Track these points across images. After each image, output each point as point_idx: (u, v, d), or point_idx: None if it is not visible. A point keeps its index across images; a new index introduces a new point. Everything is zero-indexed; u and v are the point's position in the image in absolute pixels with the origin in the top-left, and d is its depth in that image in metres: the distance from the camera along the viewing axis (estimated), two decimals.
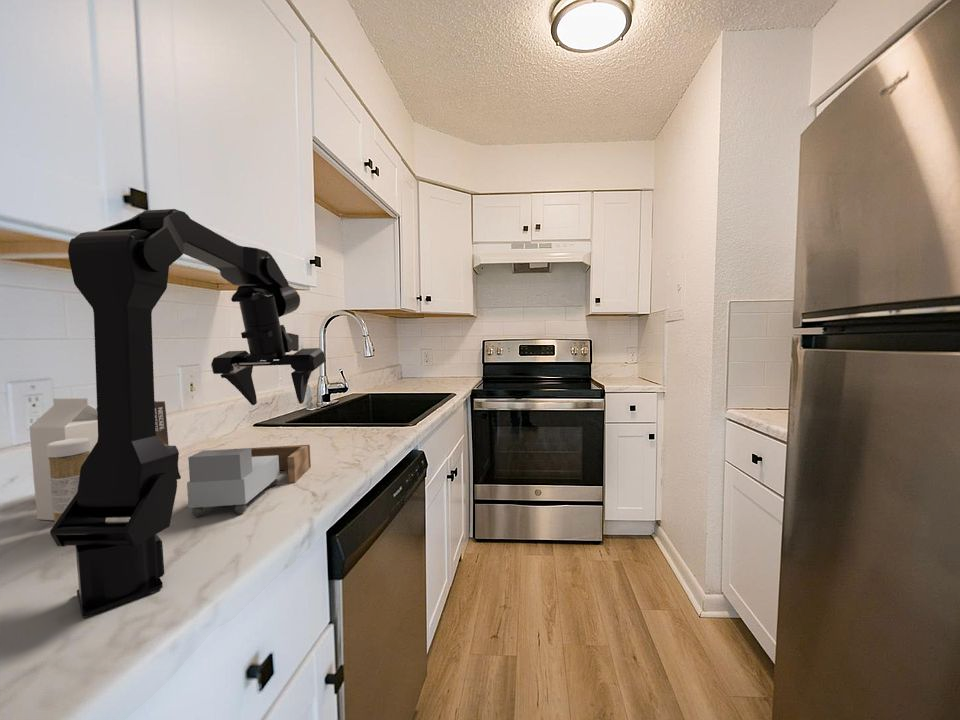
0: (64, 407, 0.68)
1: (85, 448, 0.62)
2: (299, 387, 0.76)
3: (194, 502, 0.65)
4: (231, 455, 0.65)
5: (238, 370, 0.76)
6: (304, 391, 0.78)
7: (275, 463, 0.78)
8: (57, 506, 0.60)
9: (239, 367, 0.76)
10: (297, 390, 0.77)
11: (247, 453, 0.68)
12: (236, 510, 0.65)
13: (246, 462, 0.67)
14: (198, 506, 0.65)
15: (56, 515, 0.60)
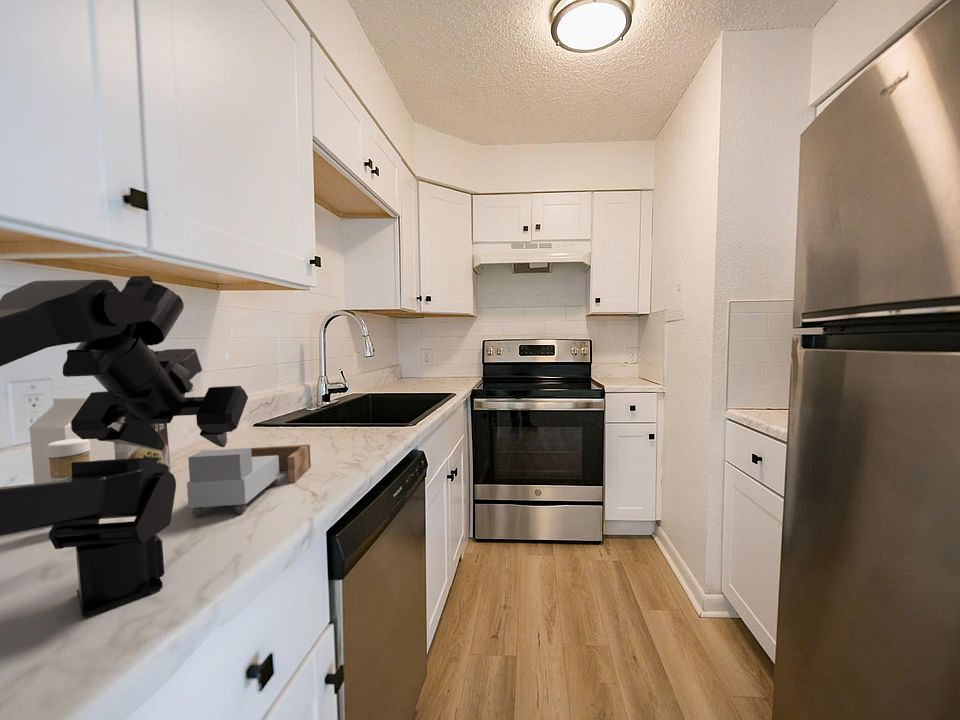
0: (64, 407, 0.68)
1: (85, 448, 0.62)
2: (216, 440, 0.56)
3: (194, 502, 0.65)
4: (231, 455, 0.65)
5: (122, 425, 0.53)
6: (224, 434, 0.59)
7: (275, 463, 0.78)
8: None
9: None
10: (215, 441, 0.57)
11: (247, 453, 0.68)
12: (236, 510, 0.65)
13: (246, 462, 0.67)
14: (198, 506, 0.65)
15: None
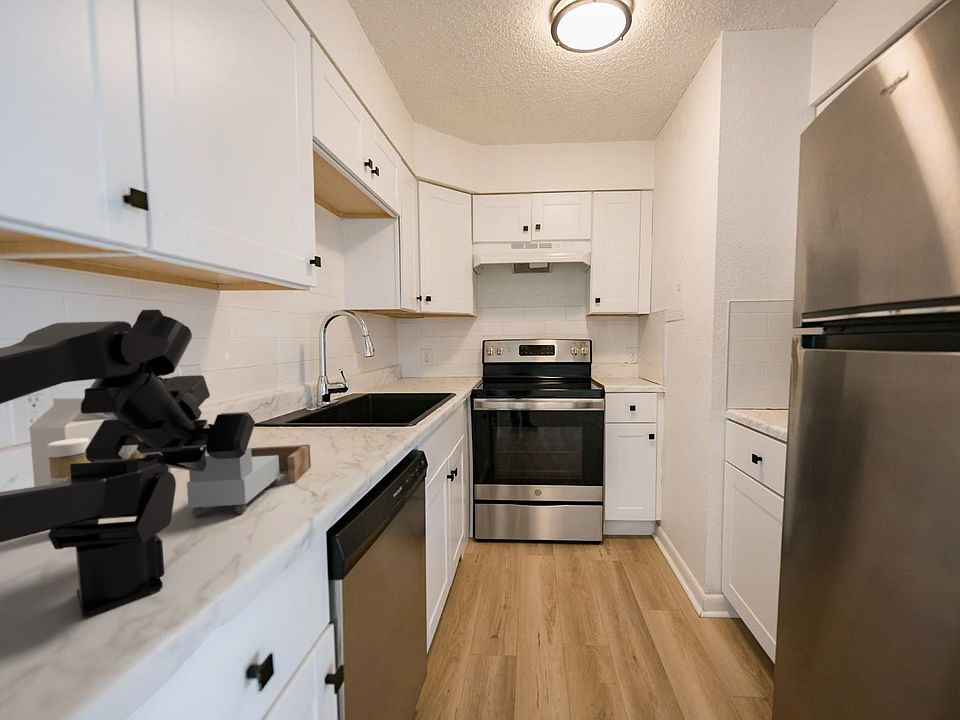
0: (64, 407, 0.68)
1: (85, 448, 0.62)
2: (194, 466, 0.58)
3: (194, 502, 0.65)
4: None
5: None
6: (203, 459, 0.60)
7: (275, 463, 0.78)
8: None
9: None
10: (193, 466, 0.58)
11: (247, 453, 0.68)
12: (236, 510, 0.65)
13: (246, 462, 0.67)
14: (198, 506, 0.65)
15: None
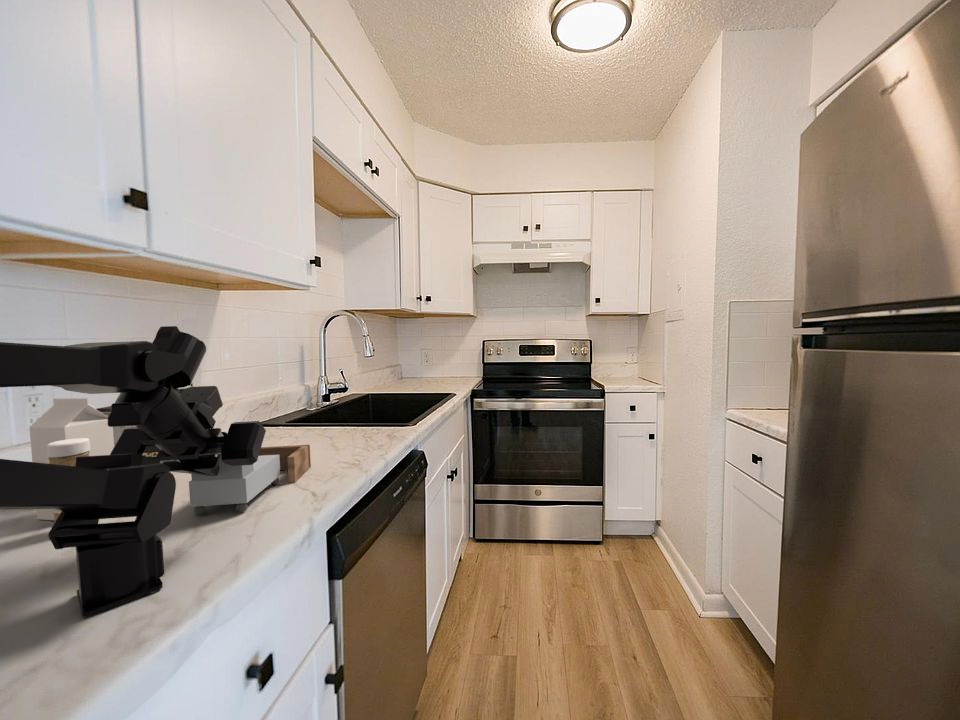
0: (64, 407, 0.68)
1: (85, 448, 0.62)
2: (209, 472, 0.61)
3: (195, 501, 0.65)
4: None
5: None
6: None
7: (276, 462, 0.79)
8: None
9: None
10: (207, 472, 0.62)
11: None
12: (237, 509, 0.66)
13: None
14: (200, 505, 0.66)
15: (56, 515, 0.60)
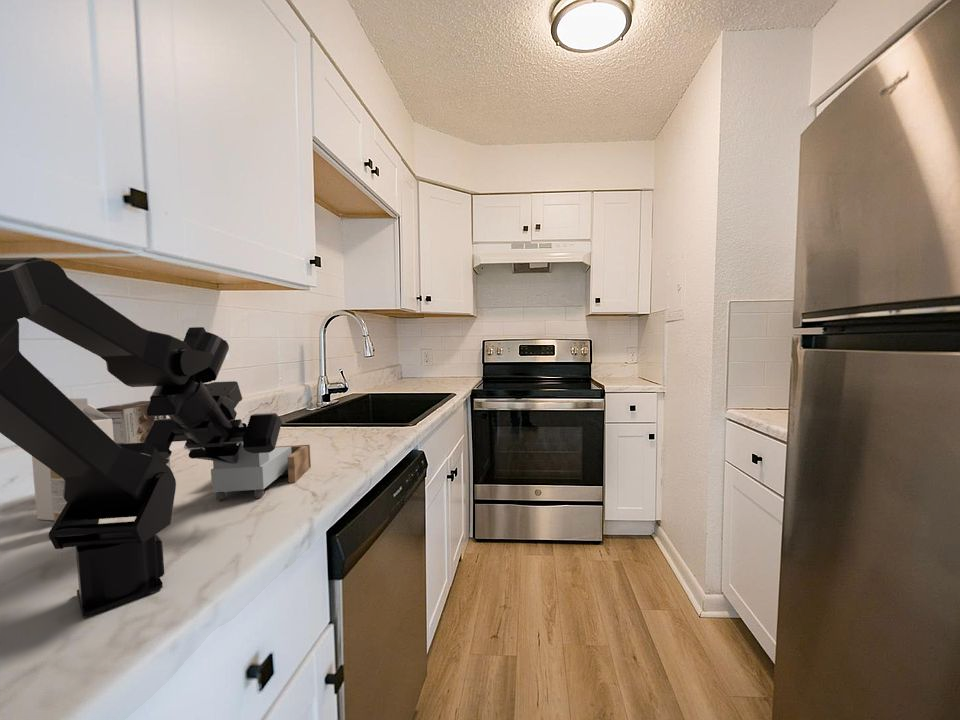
0: None
1: None
2: (230, 459, 0.67)
3: (217, 487, 0.72)
4: None
5: None
6: None
7: (289, 453, 0.85)
8: (57, 506, 0.60)
9: None
10: (229, 459, 0.68)
11: None
12: (255, 494, 0.72)
13: None
14: (221, 491, 0.72)
15: (56, 515, 0.60)
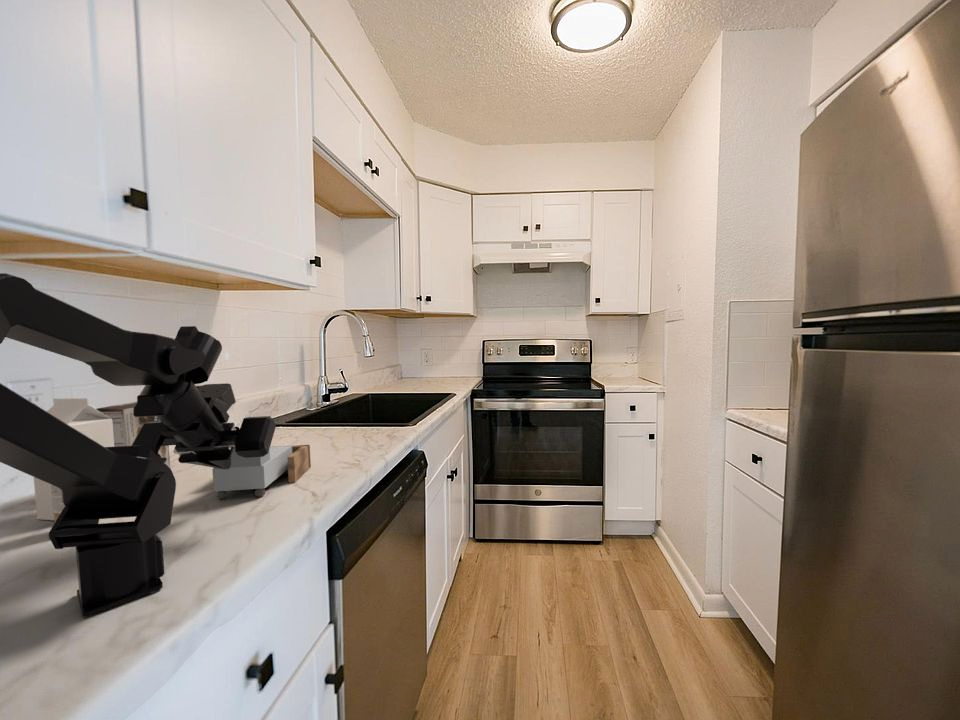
0: (64, 407, 0.68)
1: None
2: (222, 464, 0.65)
3: (218, 486, 0.72)
4: None
5: None
6: (229, 458, 0.67)
7: (289, 453, 0.85)
8: (57, 506, 0.60)
9: None
10: (221, 464, 0.66)
11: None
12: (256, 493, 0.73)
13: None
14: (222, 490, 0.72)
15: (56, 515, 0.60)
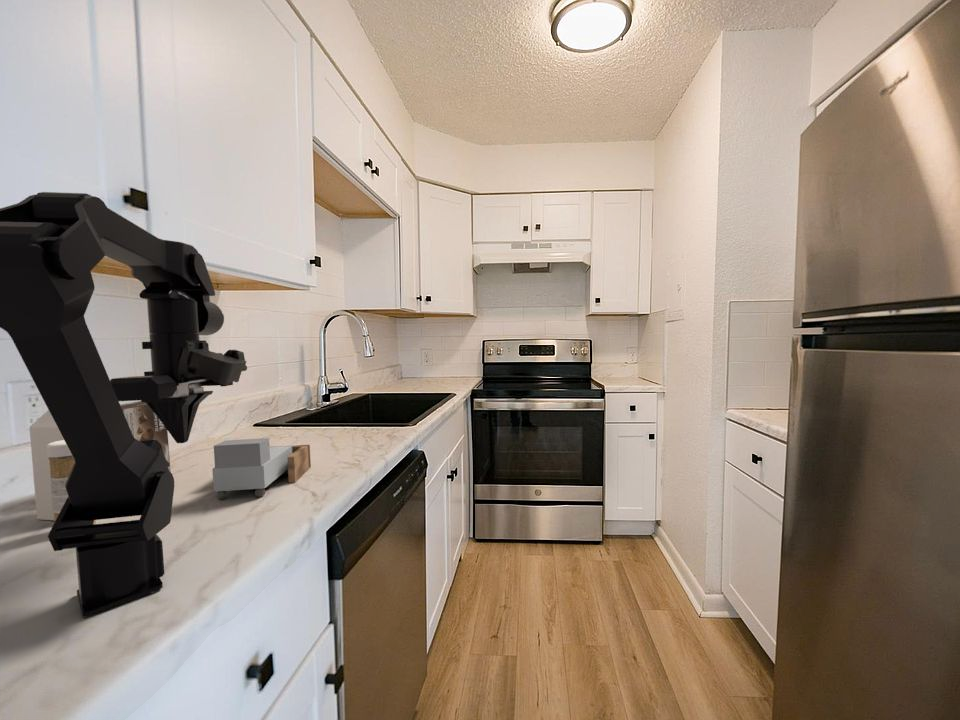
0: None
1: None
2: None
3: (218, 486, 0.72)
4: (252, 444, 0.72)
5: None
6: (177, 428, 0.59)
7: (289, 453, 0.85)
8: (57, 506, 0.60)
9: None
10: None
11: (266, 442, 0.75)
12: (256, 493, 0.73)
13: (265, 450, 0.75)
14: (222, 490, 0.72)
15: (56, 515, 0.60)
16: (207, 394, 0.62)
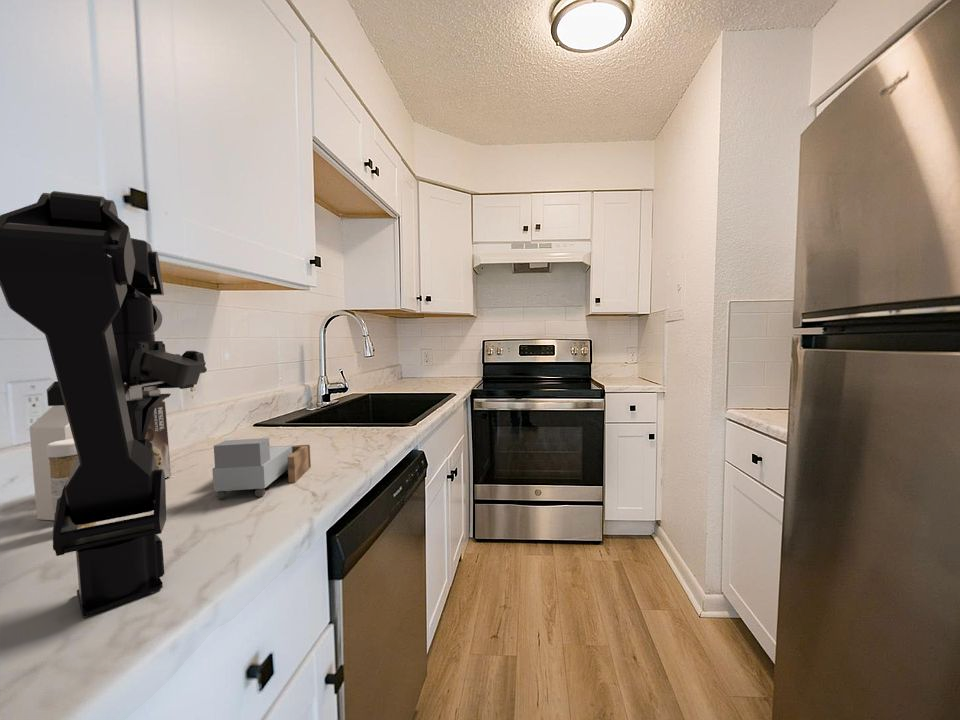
0: (64, 407, 0.68)
1: None
2: None
3: (218, 486, 0.72)
4: (252, 444, 0.72)
5: None
6: None
7: (289, 453, 0.85)
8: None
9: None
10: None
11: (266, 442, 0.75)
12: (256, 493, 0.73)
13: (265, 450, 0.75)
14: (222, 490, 0.72)
15: None
16: (164, 397, 0.59)
